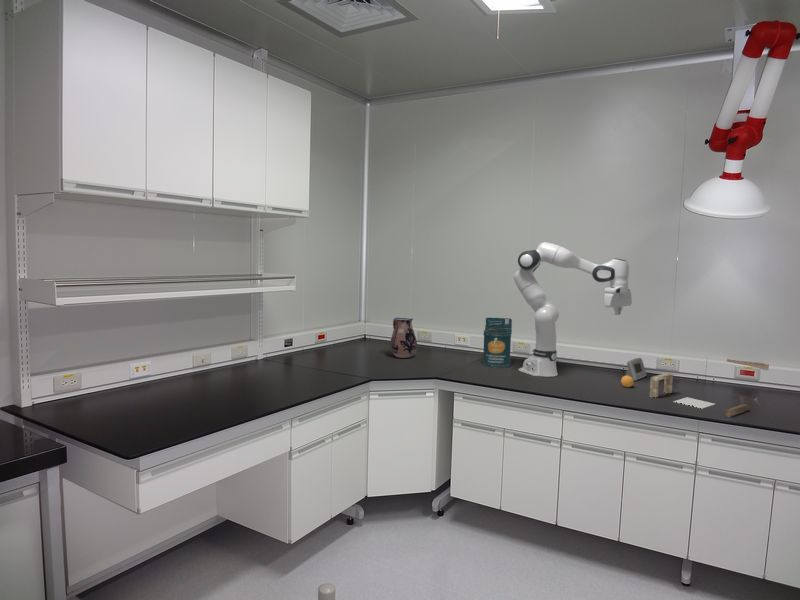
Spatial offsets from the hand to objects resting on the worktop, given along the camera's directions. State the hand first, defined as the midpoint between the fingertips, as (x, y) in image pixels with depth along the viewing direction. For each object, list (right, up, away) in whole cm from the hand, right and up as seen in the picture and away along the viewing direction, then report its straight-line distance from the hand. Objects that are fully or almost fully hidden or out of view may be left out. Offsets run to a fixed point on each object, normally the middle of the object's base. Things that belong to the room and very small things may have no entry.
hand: (617, 314), depth 282 cm
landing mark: (+21, -40, -36) cm, 58 cm away
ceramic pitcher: (-115, -29, +62) cm, 134 cm away
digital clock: (+15, -36, +11) cm, 40 cm away
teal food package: (-57, -32, +40) cm, 77 cm away
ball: (+1, -34, -9) cm, 35 cm away
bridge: (+12, -39, -23) cm, 47 cm away
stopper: (+31, -42, -51) cm, 73 cm away
